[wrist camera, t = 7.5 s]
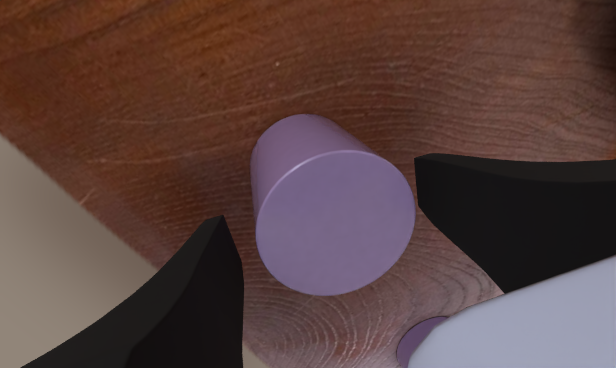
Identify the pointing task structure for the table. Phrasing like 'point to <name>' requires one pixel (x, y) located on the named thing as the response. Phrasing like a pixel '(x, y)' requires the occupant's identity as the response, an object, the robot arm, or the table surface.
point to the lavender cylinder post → (326, 207)
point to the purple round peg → (415, 339)
